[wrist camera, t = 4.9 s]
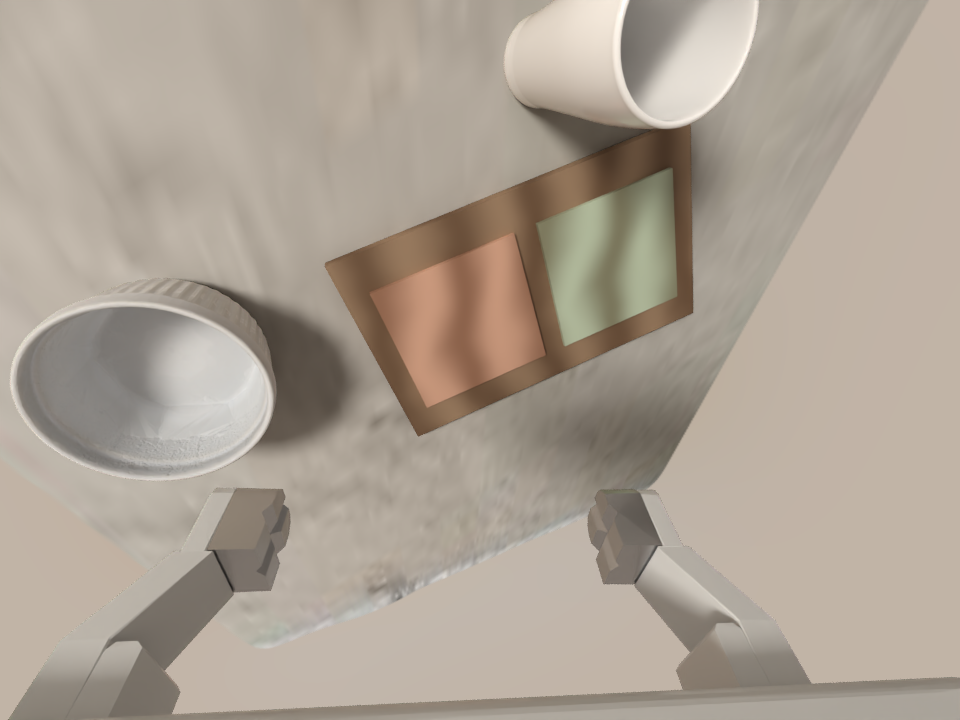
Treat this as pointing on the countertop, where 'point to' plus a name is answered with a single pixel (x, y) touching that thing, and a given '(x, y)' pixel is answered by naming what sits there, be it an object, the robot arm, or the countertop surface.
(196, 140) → the countertop surface
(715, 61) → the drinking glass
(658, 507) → the robot arm
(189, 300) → the ramekin
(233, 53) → the countertop surface
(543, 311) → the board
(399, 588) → the countertop surface
